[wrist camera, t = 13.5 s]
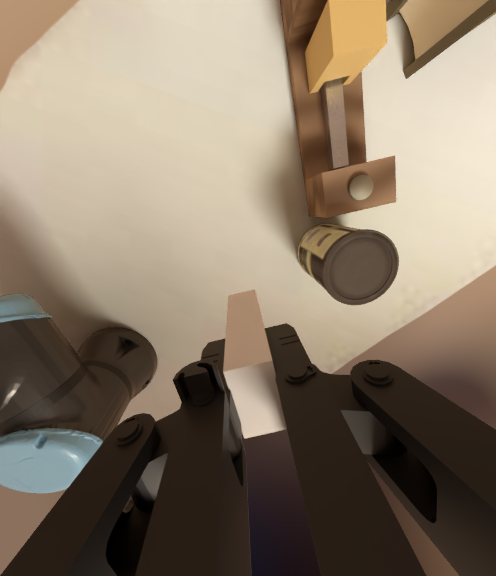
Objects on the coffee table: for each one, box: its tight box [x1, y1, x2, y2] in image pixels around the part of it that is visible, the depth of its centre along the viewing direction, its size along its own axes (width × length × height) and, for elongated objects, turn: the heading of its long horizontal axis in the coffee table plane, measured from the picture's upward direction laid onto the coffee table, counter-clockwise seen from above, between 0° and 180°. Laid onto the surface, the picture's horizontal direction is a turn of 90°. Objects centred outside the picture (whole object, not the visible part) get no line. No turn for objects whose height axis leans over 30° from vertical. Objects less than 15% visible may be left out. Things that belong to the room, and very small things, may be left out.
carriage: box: [305, 0, 387, 94], centre depth 31 cm, size 5×6×9 cm
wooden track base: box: [280, 0, 396, 218], centre depth 34 cm, size 30×10×10 cm, turn 13°
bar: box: [321, 78, 349, 170], centre depth 36 cm, size 17×2×2 cm, turn 13°
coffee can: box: [298, 224, 399, 305], centre depth 39 cm, size 10×10×14 cm
